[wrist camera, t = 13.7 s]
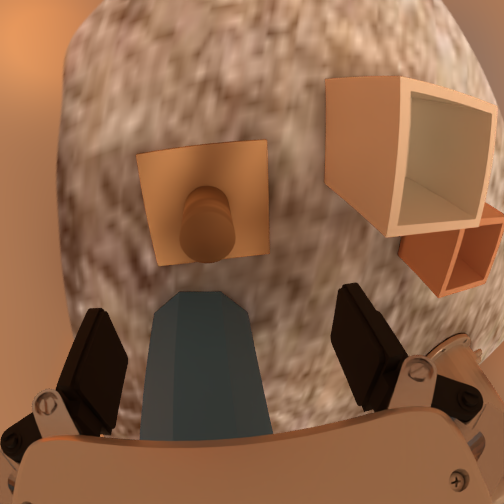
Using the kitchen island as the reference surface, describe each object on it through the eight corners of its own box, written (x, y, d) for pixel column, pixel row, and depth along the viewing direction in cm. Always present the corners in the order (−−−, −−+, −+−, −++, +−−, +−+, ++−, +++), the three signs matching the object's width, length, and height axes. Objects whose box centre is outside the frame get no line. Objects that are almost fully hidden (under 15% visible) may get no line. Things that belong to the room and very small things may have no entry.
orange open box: (459, 187, 23) (507, 216, 17) (445, 247, 27) (485, 283, 21) (410, 186, 22) (462, 220, 16) (397, 254, 26) (438, 298, 20)
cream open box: (413, 91, 18) (497, 106, 10) (406, 181, 22) (478, 226, 14) (325, 78, 17) (400, 76, 10) (324, 183, 21) (385, 237, 14)
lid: (264, 138, 20) (285, 154, 15) (267, 248, 24) (284, 292, 19) (138, 152, 19) (115, 173, 14) (159, 261, 23) (149, 307, 18)
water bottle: (226, 365, 30) (262, 590, 9) (143, 344, 27) (135, 594, 6) (267, 305, 27) (349, 591, 5) (169, 274, 23) (167, 627, 2)
